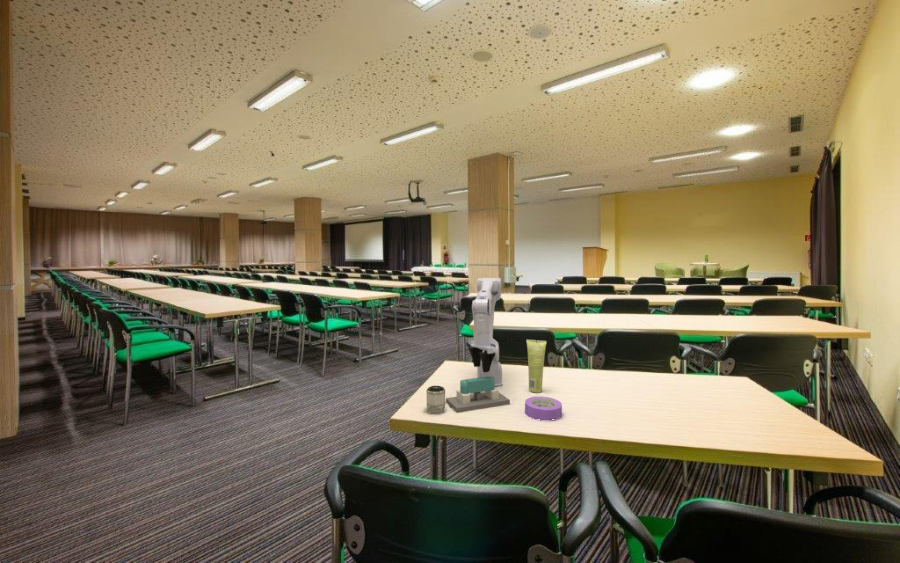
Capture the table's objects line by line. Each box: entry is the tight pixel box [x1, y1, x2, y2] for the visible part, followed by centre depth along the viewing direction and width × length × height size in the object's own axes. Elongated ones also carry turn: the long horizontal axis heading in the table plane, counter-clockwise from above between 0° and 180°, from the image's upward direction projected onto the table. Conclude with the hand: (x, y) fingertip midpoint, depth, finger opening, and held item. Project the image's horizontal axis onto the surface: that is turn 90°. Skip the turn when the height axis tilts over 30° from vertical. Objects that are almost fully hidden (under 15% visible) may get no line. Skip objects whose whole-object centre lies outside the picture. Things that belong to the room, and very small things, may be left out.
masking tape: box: [524, 395, 563, 421], centre depth 128 cm, size 12×12×4 cm
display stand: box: [445, 388, 511, 414], centre depth 136 cm, size 20×10×4 cm, turn 112°
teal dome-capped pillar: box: [459, 376, 496, 394], centre depth 136 cm, size 13×3×4 cm, turn 112°
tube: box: [525, 339, 547, 393], centre depth 148 cm, size 6×5×20 cm
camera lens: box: [426, 385, 446, 415], centre depth 130 cm, size 6×6×8 cm
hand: (481, 369), depth 142 cm, fingers open, 7 cm apart
